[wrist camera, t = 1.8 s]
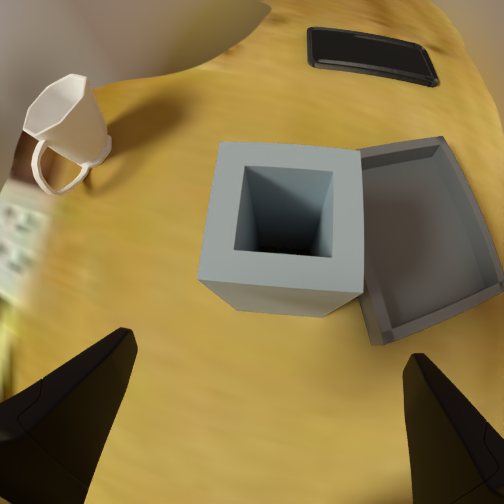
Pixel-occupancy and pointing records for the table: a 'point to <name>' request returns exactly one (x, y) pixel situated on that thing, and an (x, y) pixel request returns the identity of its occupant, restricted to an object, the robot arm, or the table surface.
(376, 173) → the tray
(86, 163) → the cup
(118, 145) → the table surface
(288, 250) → the grey metal capsule
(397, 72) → the phone
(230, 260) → the sleeve
